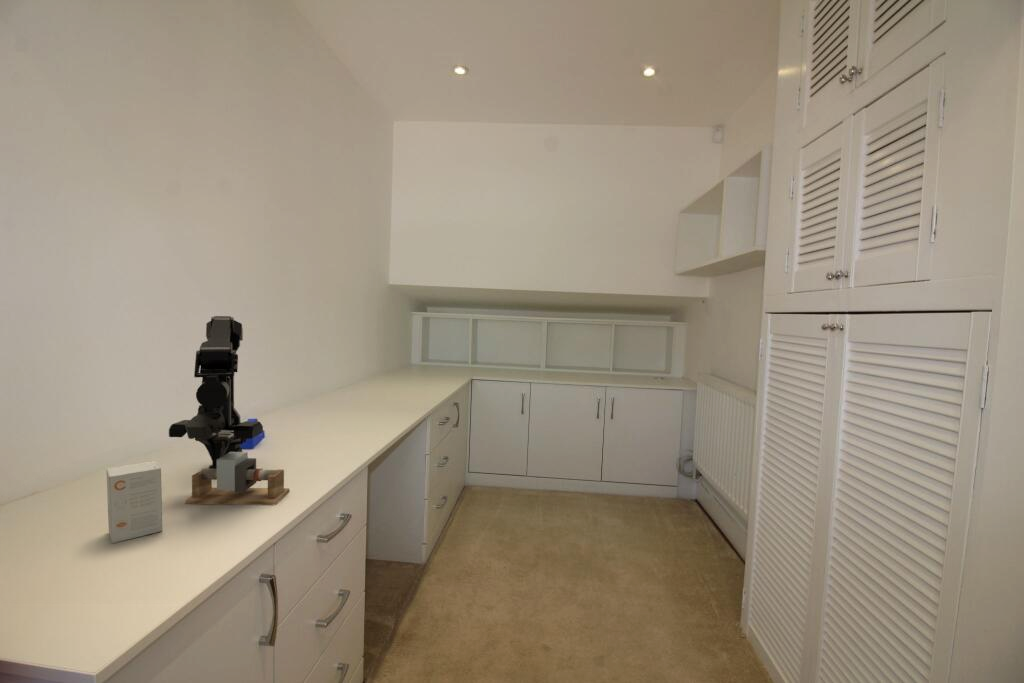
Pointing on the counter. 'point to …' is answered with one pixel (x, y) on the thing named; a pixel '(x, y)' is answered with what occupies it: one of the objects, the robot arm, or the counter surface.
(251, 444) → the bracket
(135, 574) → the counter surface
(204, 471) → the wooden rail stand
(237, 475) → the collar
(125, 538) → the small box
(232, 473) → the sleeve
